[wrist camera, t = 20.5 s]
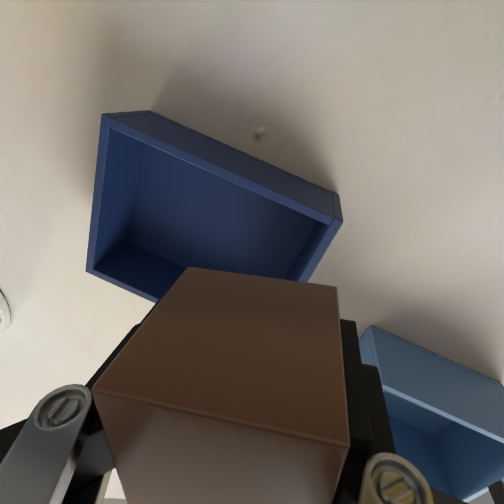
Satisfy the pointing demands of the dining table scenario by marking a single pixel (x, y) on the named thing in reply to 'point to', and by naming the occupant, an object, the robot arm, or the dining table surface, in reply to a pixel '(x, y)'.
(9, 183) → the dining table surface
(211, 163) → the lower bin
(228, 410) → the block
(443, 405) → the upper bin
